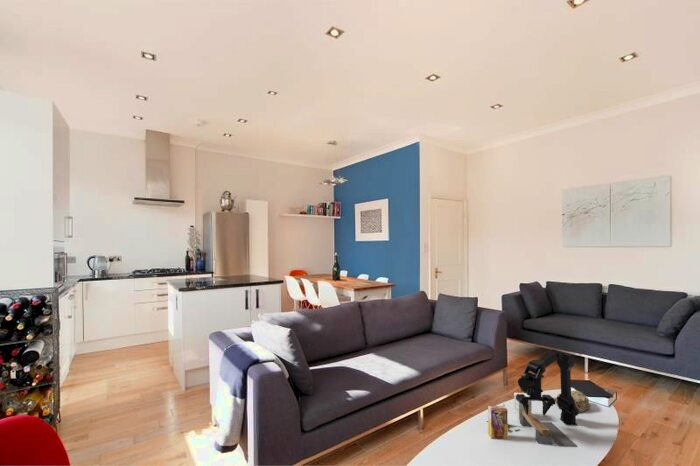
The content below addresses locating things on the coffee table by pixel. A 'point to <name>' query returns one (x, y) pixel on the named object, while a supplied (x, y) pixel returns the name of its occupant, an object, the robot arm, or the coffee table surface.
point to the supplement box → (520, 405)
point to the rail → (536, 423)
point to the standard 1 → (524, 421)
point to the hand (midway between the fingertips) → (535, 414)
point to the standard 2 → (543, 438)
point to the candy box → (497, 422)
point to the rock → (579, 400)
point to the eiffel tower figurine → (509, 427)
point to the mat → (559, 435)
